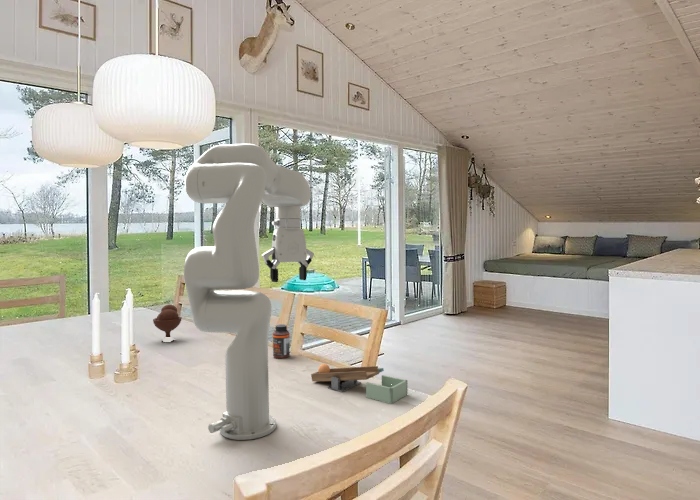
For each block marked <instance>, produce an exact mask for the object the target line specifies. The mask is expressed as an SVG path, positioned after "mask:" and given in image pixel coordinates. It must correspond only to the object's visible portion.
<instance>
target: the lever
mask: <svg viewBox="0 0 700 500" xmlns="http://www.w3.org/2000/svg"><path fill="white" fill-rule="evenodd" d="M384 371H385V370H384V367H379V366H378V365H373V366H372V365H371V366H356V367H355V366H353V367H350V366H349V367H336V368H333V367H331V368H330V372H329V373H319V372H318V371H316V372H313V373H311V374H310V375H311V382H331V377H333V376H335V377H339V378H340V381H344V380H357V381H365V380H369V379H371V378H373V377H375V376H378V375H379V374H380V373H382V372H384Z"/></svg>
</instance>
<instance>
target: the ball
mask: <svg viewBox="0 0 700 500" xmlns="http://www.w3.org/2000/svg"><path fill="white" fill-rule="evenodd" d="M330 369H331V368H330V366H329V365H328V364H326V363H322V364H320V365H319V366H318V369H317V370H318V371H317V372H319V373H329V372H330Z"/></svg>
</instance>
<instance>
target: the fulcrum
mask: <svg viewBox="0 0 700 500" xmlns="http://www.w3.org/2000/svg"><path fill="white" fill-rule="evenodd" d="M330 382H331V385H330V386H327V390H332V391H335V392H340V393H343V392H345V391H347V389H348V390H350V389H352V388H353V386H354V387H356V386H358V385H361V384H362V381H360V380H344V381H340V378H339V377H335V376H333V377H331V381H330ZM360 383H361V384H360ZM357 384H358V385H357ZM355 385H356V386H355ZM351 387H352V388H351ZM349 388H350V389H349Z"/></svg>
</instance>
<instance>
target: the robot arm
mask: <svg viewBox="0 0 700 500" xmlns="http://www.w3.org/2000/svg"><path fill="white" fill-rule="evenodd" d="M184 189H185V192H186V195H187V196H188V198H190V199H191V200H192V201H193V202H196V203H198V204H224V206H223V208H222V209H221V210H220V212H219V213H218V215H216V218H215V219H214V221H213V225H212V236H213V243H214V244H213V245H214V246H213V245H211V246H209V245H208V246H199V247H198V246H197V247H195V248H193V249H191V250H190V251H189V252H188V253H187V254H186V255H187V256H186V257H185V259H184V260H185V261H184V264H183V277H184V283H185V288H186V293H187V299H188V304H189V308H190V309H189V310H190V312H191V317H192V321H193V324H194V326H195V328H196V329H198V330H199V331H200V332H204V333H211V334H213V333H216V334H219V333H220V334H234V335H235V338H234V339H233V340H232V341H231V342H230V344H229V345H228V347H227V349H226V350H225V355H224V357H225V358H224V359H225V363H224V364H225V366H224V367H225V399H226V400H225V401H226V404H225V405H226V411H224V412H223V413H222V417H221V418H220V419H219V421H214V422H212V423H209V424H208V426H207V429H208V432H209V434H210V433H211V434H214V433H217V432H218V431H219V433H220V435H222V436H223V437H225V438H227V439H230V440H237V441H247V440H255V439H258V438H262V437H266V436H267V435H269V434H270V433H272V432H274V430H275V429H276V427H277V420H276V418H275V417H274V416H272V415H270V391H269V390H270V387H269V386H270V384H269V382H270V381H269V334H270V333H269V332H270V324H271V317H272V303H271V300H270V298H269V296H268V295H266V294H264V293H263V292H261V291H256V290H255V291H254V290H248V289H251V288H253V287H255V286H256V285H257V283H258V281H259V280H260V279H259V277H260V266H259V258H258V250H257V243H256V235H255V220H256V217H257V214H258V211H259V208H260V206H261V202H262V203H263V204H264V205H265V206H267V207H271V208H275V220H272V222H271V225H272V226H275V229H274V230H273V233H272V240H271V249H269V250H266V251H265V252H264V253H262V254H261V258H262V259H263V261H264V264H265V265H267V266H268V269H270V270H269V271H270V272H269V273H270V280H271V282H273V283H278V282H279V269H278V266H279V265H280V263H298V264H299V265H300V266H299V268H298V269H299V270H298V271H299V272H298V275H299V276H298V277H299V278H298V279H299V280H300V281H307V277H308V276H307V275H308V269H307V268H308V267H309V265H310V263H311V262H312V259H313V257H314V255H315V253H314V252H312V251H311V250H310V249H307V242H306V236H305V230H304V229H302V228H301V223H302V221H301V207H305V206H306V205H308V204H309V203H310V201H311V197H312V196H311V195H312V194H311V193H312V192H311V186H310V184H309V182H308V181H307V179H306V178H305V176H304V175H303V174H302V173H300V172H298V171H296V170H294V169H290V168H288V167H285V166H282V165H279V164H276V163H275V161H274V160H273V159H272V158H271V156H270V155H269V154H268V153H267V152H266V151H265V149H264V148H262V147H261V146H259V145H258V144H254V143H234V144H233V143H231V144H216V145H214V146H211V147H210V148H208V149H207V150H206V151H205V152H203V154H201V155H200V156H199V157H198V158H197V159H196V160H195V161H194V162H193V163H192V164H191V165H190V166H189V168H188V170H187V171H186V174H185V177H184ZM270 256H271V259H270ZM271 260H272V261H271Z"/></svg>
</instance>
